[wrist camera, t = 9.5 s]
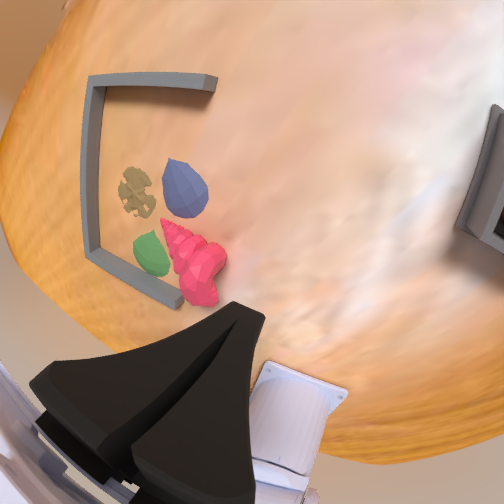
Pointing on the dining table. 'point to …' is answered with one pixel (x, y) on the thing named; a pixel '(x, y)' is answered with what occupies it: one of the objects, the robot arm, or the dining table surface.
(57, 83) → the dining table surface
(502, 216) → the dome
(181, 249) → the toy pieces
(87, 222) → the frame
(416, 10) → the dining table surface
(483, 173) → the dome base
